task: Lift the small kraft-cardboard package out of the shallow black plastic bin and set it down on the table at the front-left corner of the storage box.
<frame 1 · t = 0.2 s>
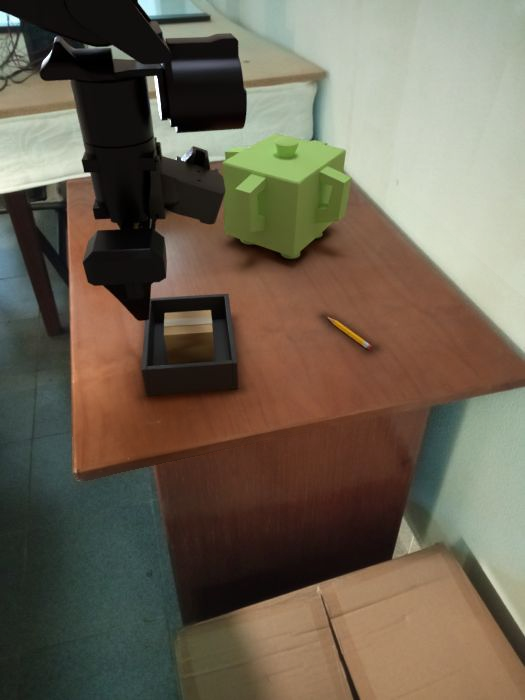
hand: (145, 292, 51), 15 cm above the table, tool pointing down, fingers open, 9 cm apart
bin: (191, 354, 66), on the table
package: (191, 351, 66), resting on bin
mug: (156, 205, 99), on the table
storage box: (282, 237, 90), on the table
pencil: (347, 334, 70), on the table
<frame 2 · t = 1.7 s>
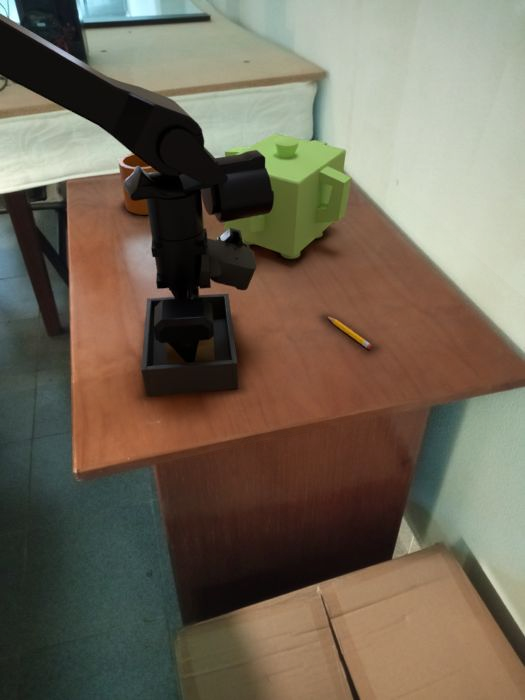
hand: (189, 337, 64), 3 cm above the table, tool pointing down, fingers open, 9 cm apart
nothing on the table moved.
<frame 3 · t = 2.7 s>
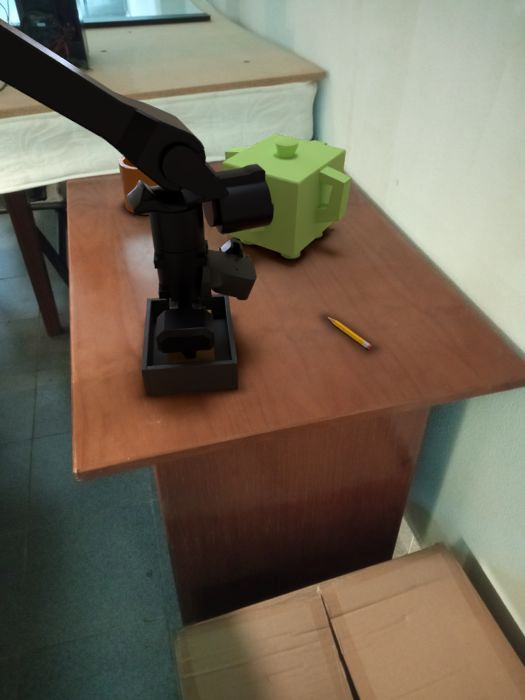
hand: (190, 345, 65), 2 cm above the table, tool pointing down, fingers closed on package, 4 cm apart
package: (191, 351, 66), resting on bin, touching gripper
everything else where it was.
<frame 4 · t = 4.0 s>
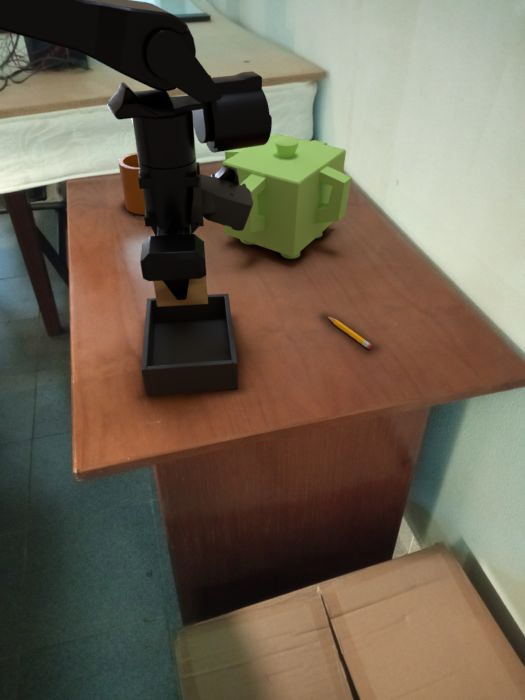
hand: (181, 287, 60), 10 cm above the table, tool pointing down, fingers closed on package, 4 cm apart
package: (182, 294, 60), point 9 cm above the table, touching gripper
everything else where it was.
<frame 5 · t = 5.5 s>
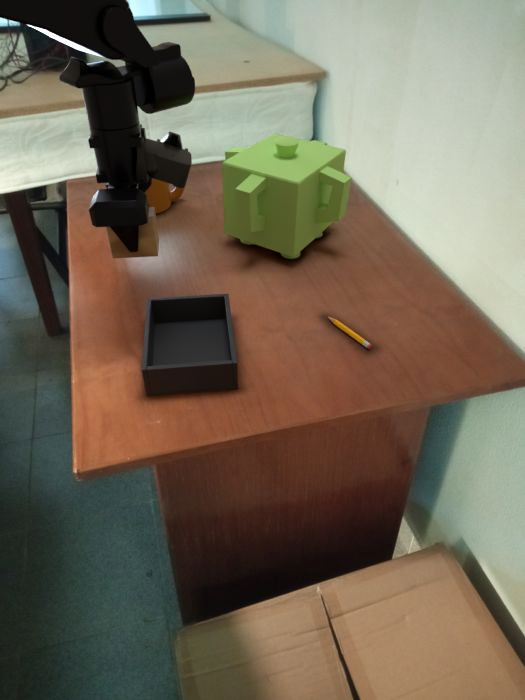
hand: (135, 242, 67), 10 cm above the table, tool pointing down, fingers closed on package, 4 cm apart
package: (136, 249, 68), point 9 cm above the table, touching gripper
everything else where it was.
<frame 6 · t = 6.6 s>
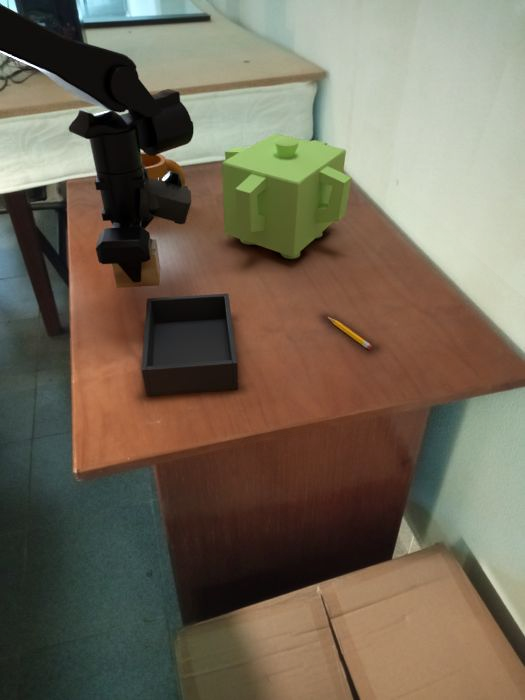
hand: (138, 272, 72), 5 cm above the table, tool pointing down, fingers closed on package, 4 cm apart
package: (139, 278, 72), point 4 cm above the table, touching gripper
everything else where it was.
when the fingers open (1 cm above the table, at t = 8.0 s): package stays where it is, on the table.
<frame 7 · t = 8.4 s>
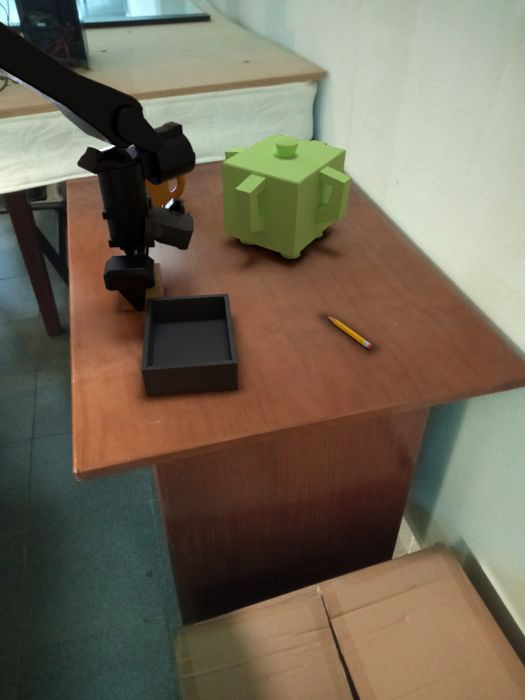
hand: (142, 293, 74), 1 cm above the table, tool pointing down, fingers open, 8 cm apart
package: (143, 300, 75), on the table
everything else where it was.
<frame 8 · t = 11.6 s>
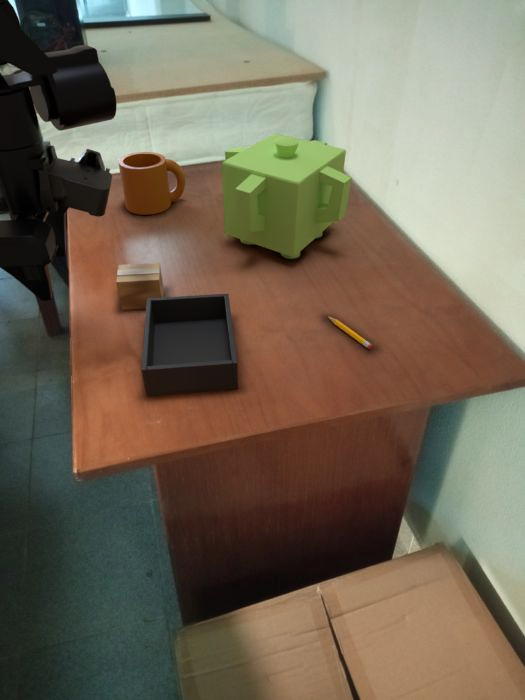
hand: (54, 276, 58), 12 cm above the table, tool pointing down, fingers open, 9 cm apart
nothing on the table moved.
at the end: package inside the target area on the table beside the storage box (0.0 cm from its centre), on the table; package touching table; package tilted 0° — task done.
